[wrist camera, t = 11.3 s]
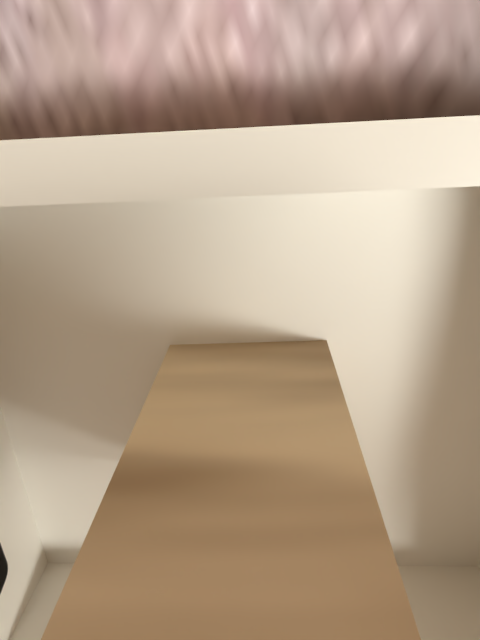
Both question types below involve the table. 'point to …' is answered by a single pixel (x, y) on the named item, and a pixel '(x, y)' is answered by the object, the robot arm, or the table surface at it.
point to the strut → (238, 511)
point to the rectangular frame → (243, 321)
